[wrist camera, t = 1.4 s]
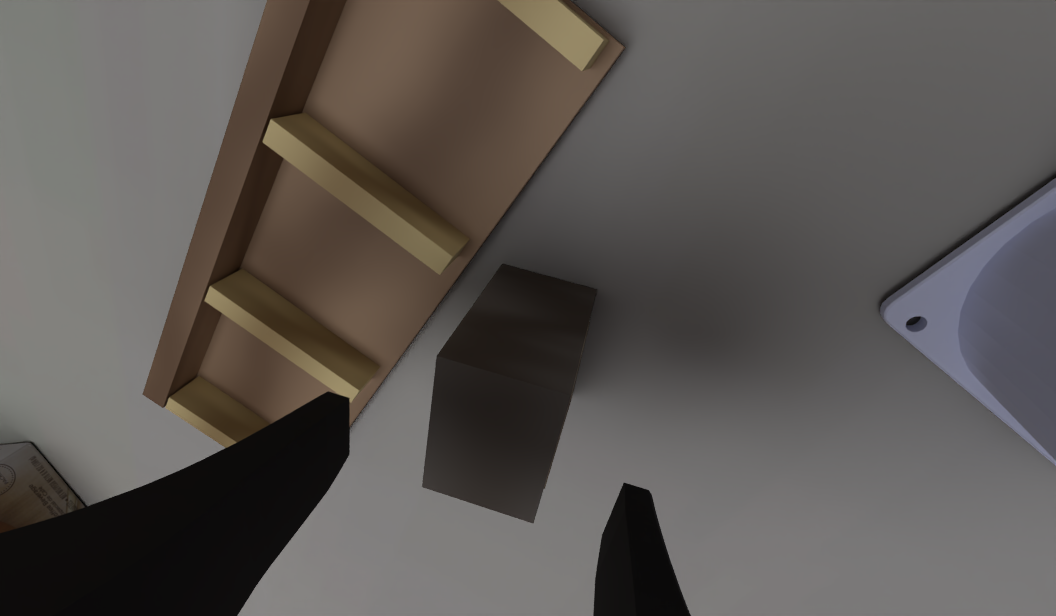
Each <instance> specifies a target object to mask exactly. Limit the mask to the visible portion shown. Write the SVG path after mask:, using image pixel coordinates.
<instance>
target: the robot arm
mask: <svg viewBox="0 0 1056 616" xmlns="http://www.w3.org/2000/svg"><path fill="white" fill-rule="evenodd" d="M880 315H881V316H882V318H883V319H884V320H885V322H886V323H887V324H888V325H889V326H891V327H892V328H893V329H894V330H895V331H896V332H898V333H899V334H900V335H901V336H902V337H904V338H905V339H906V340H907V341H908V342H909V343H911V344H912V345H913V346H914V347H915V348H917V349H918V350H919V351H920V352H921V353H923V354H924V355H925V356H926V357H927V358H928V359H930V360H931V361H932V362H933V363H934V364H936V365H937V366H938V367H939V368H940V369H942V370H943V371H944V372H945V373H946V374H947V375H949V376H950V377H951V378H952V379H953V380H955V381H956V382H957V383H958V384H959V385H960V386H962V387H963V388H964V389H965V390H966V391H968V392H969V393H970V394H971V395H972V396H974V397H975V398H976V399H977V400H978V401H979V402H981V403H982V404H983V405H984V406H985V407H987V408H988V409H989V410H990V411H991V412H993V413H994V414H995V415H996V416H997V417H998V418H1000V419H1001V420H1002V421H1003V422H1004V423H1006V424H1007V425H1008V426H1009V427H1010V428H1011V429H1013V430H1014V431H1015V432H1016V433H1017V434H1019V435H1020V436H1021V437H1022V438H1023V439H1025V440H1026V441H1027V442H1028V443H1029V444H1030V445H1032V446H1033V447H1034V448H1035V449H1036V450H1038V451H1039V452H1040V453H1041V454H1042V455H1044V456H1045V457H1046V458H1047V459H1048V460H1049V461H1051V462H1052V463H1053V464H1054V465H1055V466H1056V178H1055V179H1053V180H1052V181H1051V182H1049V183H1048V184H1046V185H1045V186H1044V187H1042V188H1041V189H1039V190H1038V191H1037V192H1035V193H1034V194H1032V195H1031V196H1030V197H1028V198H1027V199H1025V200H1024V201H1023V202H1021V203H1020V204H1018V205H1017V206H1016V207H1014V208H1013V209H1011V210H1010V211H1009V212H1007V213H1006V214H1004V215H1003V216H1002V217H1000V218H999V219H997V220H996V221H995V222H993V223H992V224H990V225H989V226H988V227H986V228H985V229H983V230H982V231H981V232H979V233H978V234H976V235H975V236H974V237H972V238H971V239H969V240H968V241H967V242H965V243H964V244H962V245H961V246H960V247H958V248H957V249H955V250H954V251H953V252H951V253H950V254H948V255H947V256H946V257H944V258H943V259H941V260H940V261H939V262H937V263H936V264H934V265H933V266H932V267H930V268H929V269H927V270H926V271H925V272H923V273H922V274H920V275H919V276H918V277H916V278H915V279H913V280H912V281H911V282H909V283H908V284H906V285H905V286H904V287H902V288H901V289H899V290H898V291H897V292H895V293H894V294H892V295H891V296H890V297H888V298H887V299H886V300H885V301H884V302H883V303H882V305H881V307H880ZM915 316H921V318H920V320H919V321H918V322H917V323H916V324H913V325H906V322H907V321H908V320H909V319H910V318H913V317H915ZM349 436H350V398H348V397H345V396H342V395H339V394H335V393H332V392H329V391H327V392H326V393H324V394H322V395H320V396H318V397H317V398H315V399H313V400H311V401H310V402H308V403H306V404H304V405H303V406H301V407H299V408H298V409H296V410H294V411H292V412H291V413H289V414H287V415H285V416H284V417H282V418H280V419H279V420H277V421H275V422H273V423H271V424H270V425H268V426H266V427H264V428H262V429H261V430H259V431H257V432H255V433H253V434H252V435H250V436H248V437H246V438H244V439H242V440H241V441H239V442H237V443H235V444H233V445H231V446H229V447H227V448H225V449H223V450H221V451H219V452H217V453H215V454H213V455H211V456H209V457H207V458H205V459H203V460H201V461H199V462H197V463H195V464H193V465H191V466H188V467H186V468H184V469H182V470H180V471H177V472H175V473H173V474H170V475H168V476H166V477H163V478H161V479H159V480H156V481H154V482H152V483H149V484H147V485H144V486H142V487H139V488H136V489H134V490H131V491H128V492H125V493H123V494H120V495H117V496H115V497H112V498H109V499H106V500H104V501H101V502H98V503H96V504H93V505H90V506H87V507H84V508H81V509H78V510H75V511H72V512H69V513H66V514H63V515H60V516H57V517H54V518H50V519H47V520H44V521H40V522H37V523H34V524H30V525H27V526H24V527H20V528H17V529H13V530H10V531H6V532H2V533H0V616H237V615H238V613H239V612H240V610H241V609H242V607H243V606H244V604H245V602H246V601H247V599H248V598H249V596H250V595H251V593H252V591H253V590H254V588H255V587H256V585H257V584H258V582H259V581H260V580H261V578H262V577H263V575H264V574H265V573H266V571H267V570H268V568H269V567H270V566H271V564H272V563H273V562H274V560H275V559H276V558H277V557H278V555H279V554H280V553H281V551H282V550H283V549H284V547H285V546H286V545H287V544H288V542H289V541H290V540H291V538H292V537H293V536H294V534H295V533H296V532H297V531H298V529H299V528H300V527H301V525H302V524H303V523H304V521H305V520H306V519H307V518H308V516H309V515H310V514H311V512H312V511H313V510H314V508H315V507H316V506H317V504H318V503H319V502H320V500H321V499H322V498H323V496H324V495H325V494H326V492H327V491H328V490H329V488H330V486H331V485H332V483H333V481H334V480H335V478H336V476H337V475H338V473H339V471H340V470H341V468H342V466H343V464H344V463H345V461H346V459H347V458H348V456H349ZM594 616H691V615H690V613H689V610H688V608H687V605H686V603H685V600H684V598H683V595H682V592H681V590H680V587H679V584H678V581H677V578H676V575H675V573H674V570H673V567H672V564H671V561H670V558H669V555H668V552H667V549H666V546H665V542H664V539H663V536H662V533H661V529H660V526H659V522H658V518H657V515H656V511H655V507H654V503H653V498H652V495H651V493H650V491H649V490H646V489H643V488H640V487H637V486H634V485H630V484H627V483H624V484H623V486H622V488H621V491H620V493H619V496H618V498H617V501H616V503H615V505H614V508H613V510H612V513H611V515H610V517H609V520H608V522H607V525H606V527H605V530H604V532H603V534H602V539H601V545H600V552H599V558H598V565H597V571H596V578H595V596H594Z"/></svg>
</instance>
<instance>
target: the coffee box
mask: <svg viewBox="0 0 1056 616" xmlns="http://www.w3.org/2000/svg"><path fill="white" fill-rule="evenodd" d="M84 507H85V506H84V505H83V504H82V502H81V501H80V500H79V499H78V498H77V497H76V495H75V494H74V493H73V492H72V491H71V489H70V488H69V487H68V486H67V485H66V483H65V482H64V481H63V480H62V479H61V477H60V476H59V475H58V474H57V473H56V472H55V470H54V469H53V468H52V467H51V465H50V464H49V463H48V462H47V461H46V460H45V458H44V457H43V456H42V455H41V454H40V453H39V451H38V450H37V449H36V448H35V447H34V446H33V445H32V444H31V443H17V444H6V445H0V533H2V532H6V531H10V530H13V529H17V528H20V527H24V526H27V525H30V524H34V523H37V522H40V521H44V520H47V519H50V518H54V517H57V516H60V515H63V514H66V513H69V512H72V511H75V510H78V509H81V508H84Z"/></svg>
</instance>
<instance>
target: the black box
mask: <svg viewBox="0 0 1056 616" xmlns="http://www.w3.org/2000/svg"><path fill="white" fill-rule="evenodd" d="M596 292H597V289H594V288H590V287H587V286H583V285H579V284H575V283H572V282H568V281H564V280H561V279H557V278H553V277H550V276H546V275H542V274H539V273H535V272H531V271H527V270H524V269H520V268H516V267H513V266H509V265H505V264H502V265H501V267H500V268H499V269H498V271H497V272H496V274H495V275H494V276H493V278H492V279H491V281H490V282H489V283H488V285H487V286H486V288H485V289H484V290H483V292H482V293H481V295H480V296H479V297H478V299H477V300H476V302H475V303H474V304H473V306H472V307H471V309H470V310H469V311H468V313H467V314H466V316H465V317H464V318H463V320H462V321H461V323H460V324H459V326H458V327H457V328H456V330H455V331H454V333H453V334H452V335H451V337H450V338H449V340H448V341H447V342H446V344H445V345H444V347H443V348H442V349H441V351H440V352H439V354H438V355H437V359H436V368H435V377H434V386H433V395H432V404H431V413H430V422H429V431H428V439H427V448H426V457H425V466H424V475H423V484H422V487H424V488H427V489H430V490H433V491H436V492H439V493H442V494H445V495H448V496H451V497H454V498H457V499H460V500H463V501H466V502H470V503H473V504H476V505H479V506H482V507H485V508H488V509H491V510H494V511H497V512H500V513H503V514H506V515H509V516H512V517H515V518H518V519H521V520H524V521H527V522H530V523H534V519H535V516H536V513H537V509H538V506H539V503H540V499H541V496H542V492H543V489H545V486H546V482H547V479H548V476H549V472H550V469H551V466H552V462H553V459H554V456H555V452H556V449H557V446H558V442H559V439H560V435H561V432H562V429H563V425H564V422H565V419H566V415H567V412H568V409H569V405H570V402H571V398H572V394H573V390H574V386H575V381H576V377H577V373H578V369H579V365H580V361H581V357H582V352H583V348H584V344H585V340H586V336H587V332H588V328H589V323H590V322H589V320H590V316H591V312H592V308H593V304H594V300H595V296H596Z"/></svg>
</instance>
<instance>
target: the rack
mask: <svg viewBox="0 0 1056 616" xmlns="http://www.w3.org/2000/svg"><path fill="white" fill-rule="evenodd" d="M625 48H626V47H624V46H623V45H622V44H621V43H620V42H619V41H617V40H616V39H615V38H614V37H613V36H612V35H610V34H609V33H608V32H607V31H606V30H605V29H603V28H602V27H601V26H600V25H599V24H598V23H596V22H595V21H594V20H593V19H592V18H591V17H589V16H588V15H587V14H586V13H585V12H584V11H582V10H581V9H580V8H579V7H578V6H577V5H575V4H574V3H573V2H572V1H571V0H267V3H266V6H265V9H264V12H263V15H262V19H261V22H260V25H259V28H258V31H257V34H256V38H255V41H254V44H253V47H252V50H251V53H250V56H249V60H248V63H247V66H246V69H245V72H244V75H243V79H242V82H241V85H240V88H239V91H238V94H237V98H236V101H235V104H234V107H233V110H232V113H231V117H230V120H229V123H228V126H227V129H226V132H225V136H224V139H223V142H222V145H221V148H220V151H219V155H218V158H217V161H216V164H215V167H214V170H213V174H212V177H211V180H210V183H209V186H208V189H207V193H206V196H205V199H204V202H203V205H202V208H201V212H200V215H199V218H198V221H197V224H196V227H195V230H194V234H193V237H192V240H191V243H190V246H189V249H188V253H187V256H186V259H185V262H184V265H183V268H182V272H181V275H180V278H179V281H178V284H177V287H176V291H175V294H174V297H173V300H172V303H171V306H170V310H169V313H168V316H167V319H166V322H165V325H164V329H163V332H162V335H161V338H160V341H159V344H158V348H157V351H156V354H155V357H154V360H153V363H152V367H151V370H150V373H149V376H148V379H147V382H146V386H145V389H144V392H143V395H144V396H146V397H147V398H149V399H150V400H152V401H153V402H155V403H156V404H158V405H159V406H161V407H162V408H163V407H165V406H166V409H168V410H169V411H171V412H172V413H174V414H175V415H177V416H178V417H180V418H181V419H183V420H184V421H186V422H188V423H189V424H191V425H192V426H194V427H195V428H197V429H198V430H200V431H201V432H203V433H204V434H206V435H207V436H209V437H210V438H212V439H213V440H215V441H216V442H218V443H219V444H221V445H222V446H224V447H225V448H227V447H229V446H231V445H233V444H235V443H237V442H239V441H241V440H242V439H244V438H246V437H248V436H250V435H252V434H253V433H255V432H257V431H259V430H261V429H262V428H264V427H266V426H268V425H270V424H271V423H273V422H275V421H277V420H279V419H280V418H282V417H284V416H285V415H287V414H289V413H291V412H292V411H294V410H296V409H298V408H299V407H301V406H303V405H304V404H306V403H308V402H310V401H311V400H313V399H315V398H317V397H318V396H320V395H322V394H324V393H326V392H327V391H329V392H332V393H335V394H339V395H342V396H345V397H348V398H350V426H351V425H352V424H353V422H354V421H355V420H356V418H357V417H358V415H359V414H360V413H361V411H362V410H363V409H364V407H365V406H366V404H367V403H368V402H369V400H370V399H371V398H372V396H373V395H374V393H375V392H376V391H377V389H378V388H379V387H380V385H381V384H382V382H383V381H384V380H385V378H386V377H387V376H388V374H389V373H390V371H391V370H392V369H393V367H394V366H395V364H396V363H397V362H398V360H399V359H400V358H401V356H402V355H403V353H404V352H405V351H406V349H407V348H408V347H409V345H410V344H411V342H412V341H413V340H414V338H415V337H416V336H417V334H418V333H419V331H420V330H421V329H422V327H423V326H424V325H425V323H426V322H427V320H428V319H429V318H430V316H431V315H432V314H433V312H434V311H435V309H436V308H437V307H438V305H439V304H440V303H441V301H442V300H443V298H444V297H445V296H446V294H447V293H448V292H449V290H450V289H451V287H452V286H453V285H454V283H455V282H456V281H457V279H458V278H459V276H460V275H461V274H462V272H463V271H464V270H465V268H466V267H467V265H468V264H469V263H470V261H471V260H472V259H473V257H474V256H475V254H476V253H477V252H478V250H479V249H480V247H481V246H482V245H483V243H484V242H485V241H486V239H487V238H488V236H489V235H490V234H491V232H492V231H493V230H494V228H495V227H496V225H497V224H498V223H499V221H500V220H501V219H502V217H503V216H504V214H505V213H506V212H507V210H508V209H509V208H510V206H511V205H512V203H513V202H514V201H515V199H516V198H517V197H518V195H519V194H520V192H521V191H522V190H523V188H524V187H525V186H526V184H527V183H528V181H529V180H530V179H531V177H532V176H533V175H534V173H535V172H536V170H537V169H538V168H539V166H540V165H541V164H542V162H543V161H544V159H545V158H546V157H547V155H548V154H549V153H550V151H551V150H552V148H553V147H554V146H555V144H556V143H557V141H558V140H559V139H560V137H561V136H562V135H563V133H564V132H565V130H566V129H567V128H568V126H569V125H570V124H571V122H572V121H573V119H574V118H575V117H576V115H577V114H578V113H579V111H580V110H581V108H582V107H583V106H584V104H585V103H586V102H587V100H588V99H589V97H590V96H591V95H592V93H593V92H594V91H595V89H596V88H597V86H598V85H599V84H600V82H601V81H602V80H603V78H604V77H605V75H606V74H607V73H608V71H609V70H610V69H611V67H612V66H613V64H614V63H615V62H616V60H617V59H618V58H619V56H620V55H621V53H622V52H623V51H624V49H625Z"/></svg>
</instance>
